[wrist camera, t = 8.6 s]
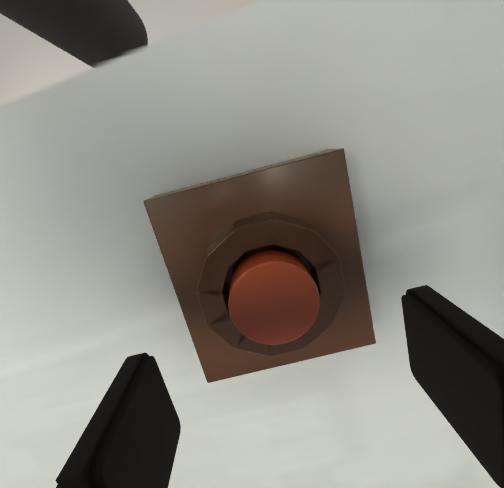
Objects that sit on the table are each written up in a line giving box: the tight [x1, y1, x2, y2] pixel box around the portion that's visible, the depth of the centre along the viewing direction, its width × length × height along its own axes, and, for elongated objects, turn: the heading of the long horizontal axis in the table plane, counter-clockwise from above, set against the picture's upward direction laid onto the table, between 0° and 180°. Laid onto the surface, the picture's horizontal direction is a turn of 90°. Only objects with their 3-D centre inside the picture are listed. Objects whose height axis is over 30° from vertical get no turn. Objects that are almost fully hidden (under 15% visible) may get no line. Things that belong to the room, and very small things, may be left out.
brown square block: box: [144, 149, 376, 383], centre depth 17 cm, size 11×10×4 cm
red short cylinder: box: [228, 250, 320, 345], centre depth 14 cm, size 4×4×2 cm
